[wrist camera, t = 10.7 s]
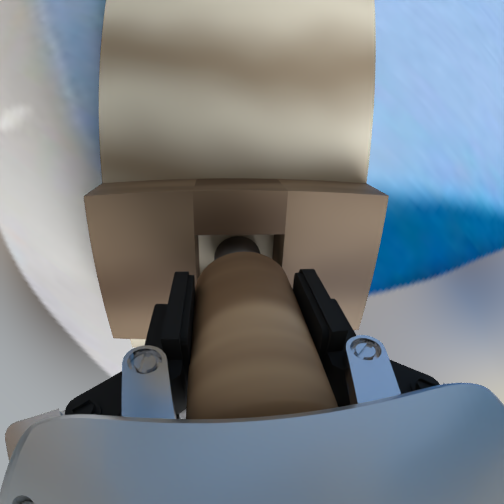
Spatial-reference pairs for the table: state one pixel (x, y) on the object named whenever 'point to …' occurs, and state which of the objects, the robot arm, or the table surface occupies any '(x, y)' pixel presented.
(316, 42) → the subfloor panel
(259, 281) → the tan rounded cylinder
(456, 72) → the table surface
